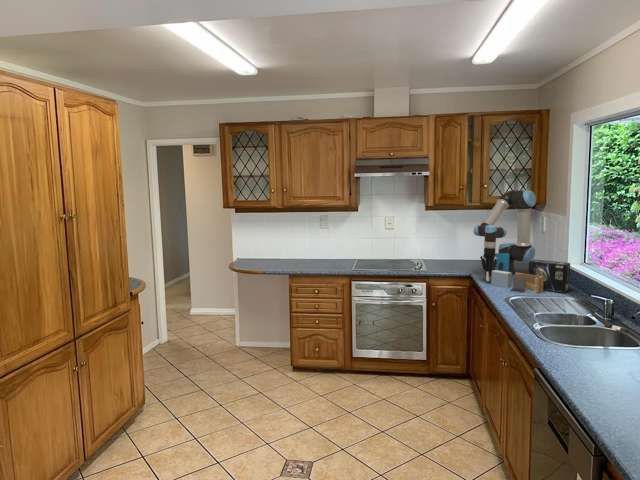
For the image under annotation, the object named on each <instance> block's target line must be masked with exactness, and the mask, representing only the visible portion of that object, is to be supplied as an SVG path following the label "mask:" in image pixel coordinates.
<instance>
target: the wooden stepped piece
mask: <svg viewBox="0 0 640 480" xmlns="http://www.w3.org/2000/svg"><path fill="white" fill-rule="evenodd" d="M514 278H518V279H524V280H526V288H525V290H528V291H529V290H530V291H533V294H534V295H537V294H539V293H540V294H541V293H543V292H544V291H543V284H544V277H543V276H537V275H530V274H528V273H523V272H517V271H516V273H515V274H514Z"/></svg>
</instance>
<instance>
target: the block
mask: <svg viewBox="0 0 640 480" xmlns="http://www.w3.org/2000/svg"><path fill="white" fill-rule="evenodd" d="M495 256H496V258H498V259H499V260H498V261H497V264H496V267H495V270H498V268H499V263H500V262H501V271H505V272H509V257H510V254H507V253H497V252H495ZM493 262H494V259H493ZM492 266H493V263H492ZM491 277H492V275H491V276H490V278H491Z"/></svg>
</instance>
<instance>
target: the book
mask: <svg viewBox="0 0 640 480" xmlns="http://www.w3.org/2000/svg"><path fill="white" fill-rule="evenodd" d="M490 283H491V284H490V285H491V286H495V287H500V288H504V289H505V288H506V289H510V288H512V285H513V274H512V272H505V271H499V270H493V271H492V277H491V276H490Z"/></svg>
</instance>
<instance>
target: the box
mask: <svg viewBox="0 0 640 480" xmlns="http://www.w3.org/2000/svg"><path fill="white" fill-rule="evenodd" d="M570 270H571V262H564V261H563V262H562V261H556V260H555V261H553V260H545V259H544V260H543V259H533V260H531V261H529V262H528V273H527V274H530V275H537V276H543V277H544V284H543V292H549V293H550V292H551V293H558V294H566V293H569V291H570V275H571V274H570V273H571V271H570Z"/></svg>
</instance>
